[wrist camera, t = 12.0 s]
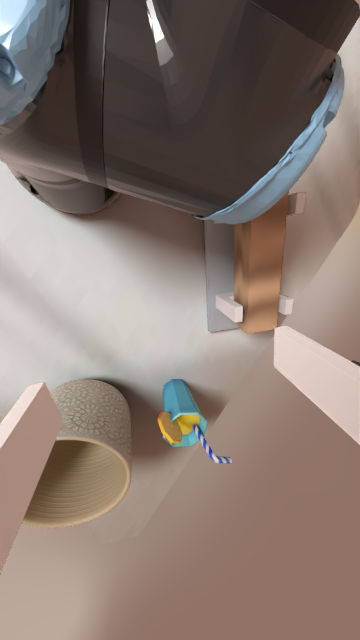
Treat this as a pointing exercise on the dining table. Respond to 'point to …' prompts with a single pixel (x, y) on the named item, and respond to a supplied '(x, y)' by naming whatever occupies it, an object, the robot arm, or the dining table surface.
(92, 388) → the planter
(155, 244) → the dining table surface
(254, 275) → the rail
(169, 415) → the cup
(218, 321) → the bracket board
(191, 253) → the dining table surface
